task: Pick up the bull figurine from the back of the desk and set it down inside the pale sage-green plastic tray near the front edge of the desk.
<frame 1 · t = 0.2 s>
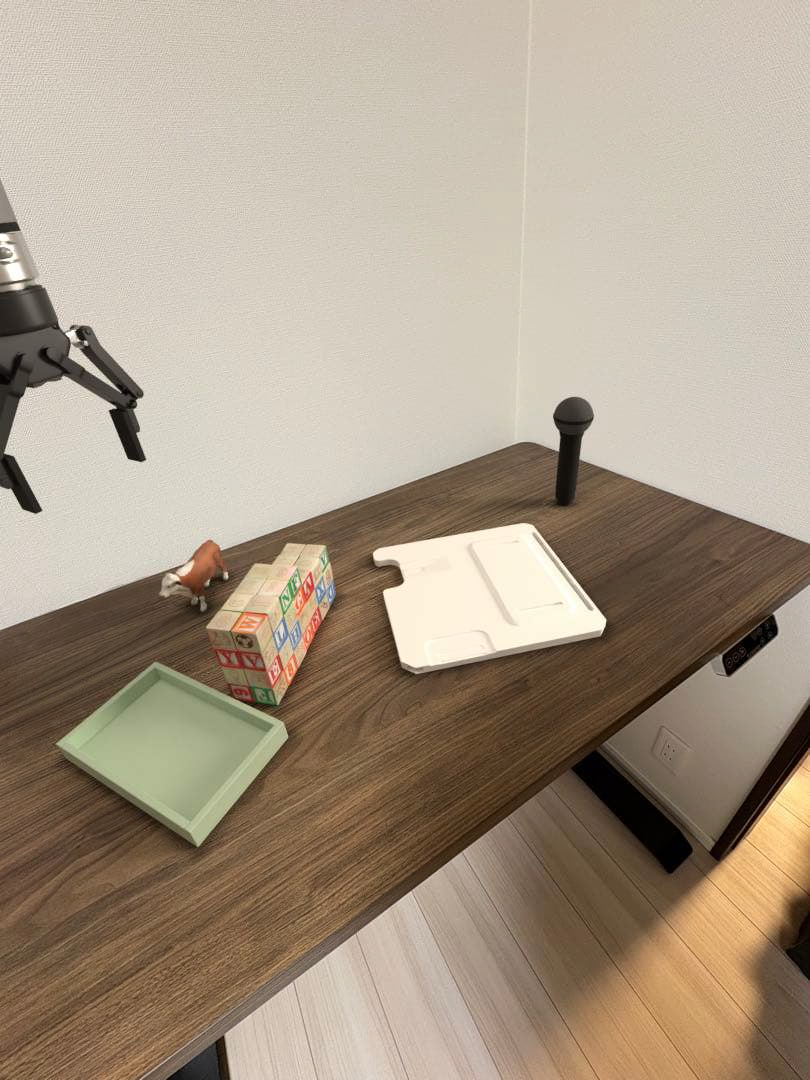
hand: (89, 483, 63), 25 cm above the table, tool pointing down, fingers open, 13 cm apart
tray 2: (476, 589, 80), on the table
bull figurine: (205, 598, 83), on the table
microphone: (564, 503, 99), on the table
tray: (177, 747, 60), on the table
stack of blocks: (290, 643, 73), on the table
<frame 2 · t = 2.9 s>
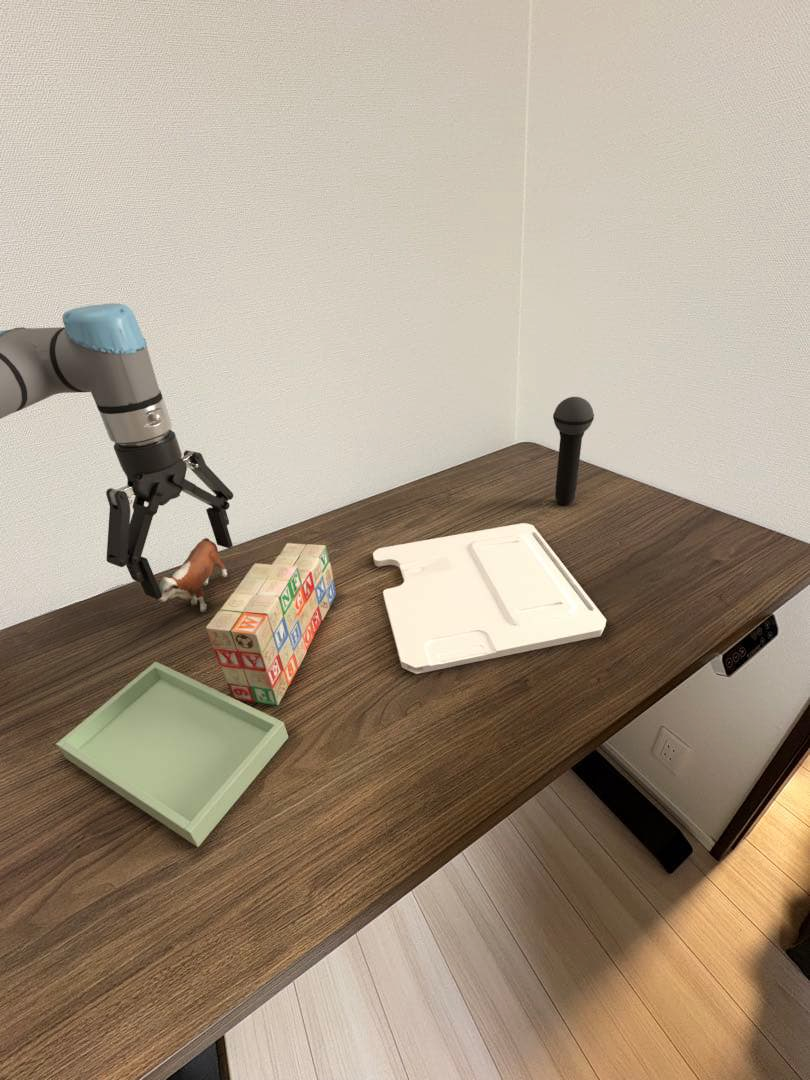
hand: (192, 569, 80), 6 cm above the table, tool pointing down, fingers open, 13 cm apart
bull figurine: (204, 597, 83), on the table, touching gripper
everything else where it was.
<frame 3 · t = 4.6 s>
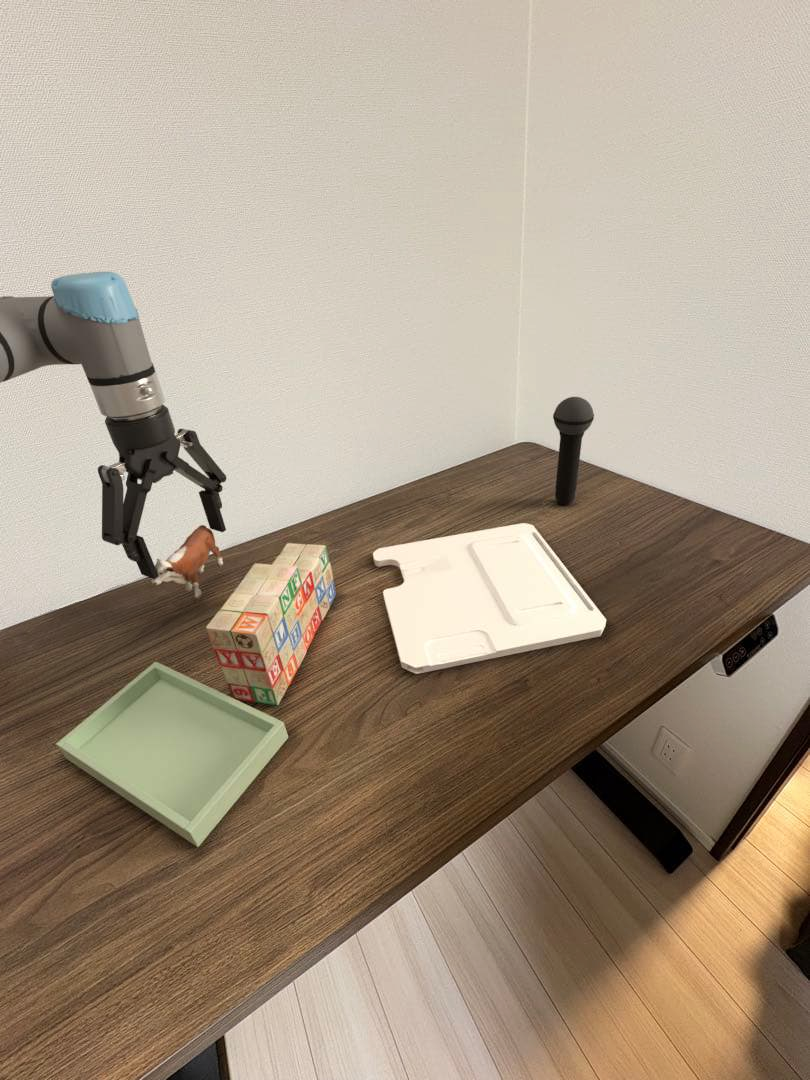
hand: (186, 551, 78), 9 cm above the table, tool pointing down, fingers closed on bull figurine, 12 cm apart
bull figurine: (199, 585, 82), point 2 cm above the table, touching gripper
everything else where it was.
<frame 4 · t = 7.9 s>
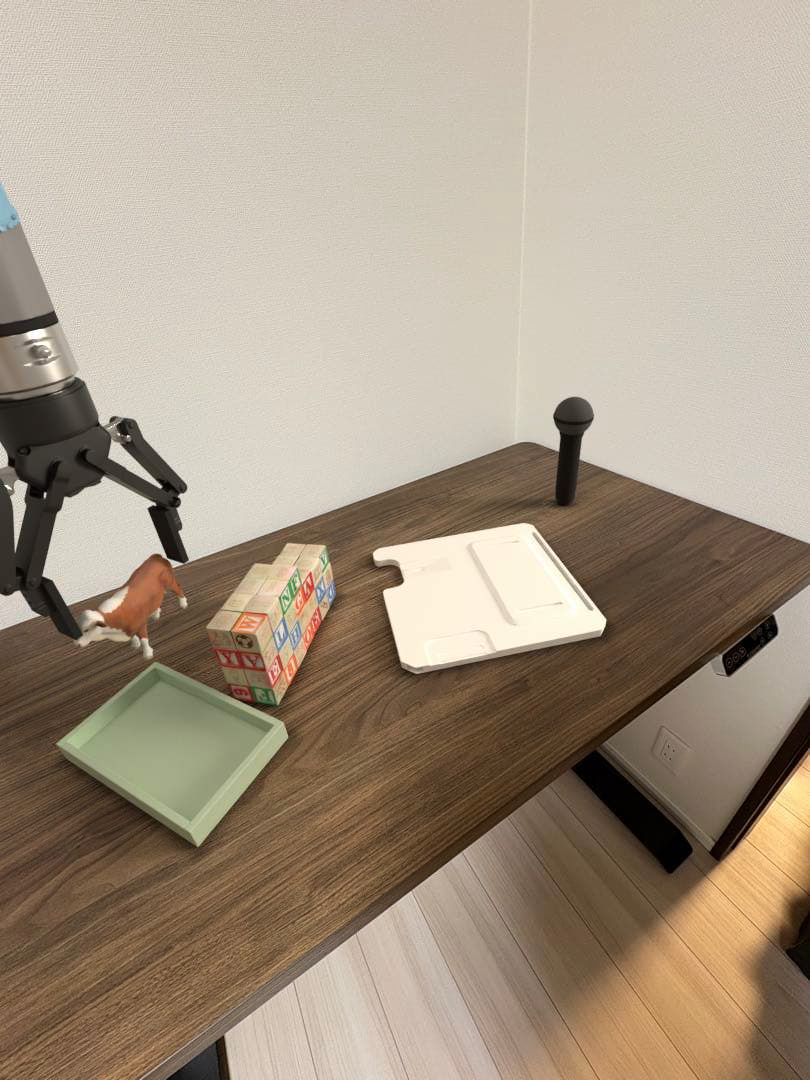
hand: (129, 593, 54), 19 cm above the table, tool pointing down, fingers closed on bull figurine, 12 cm apart
bull figurine: (152, 638, 58), point 12 cm above the table, touching gripper
everything else where it was.
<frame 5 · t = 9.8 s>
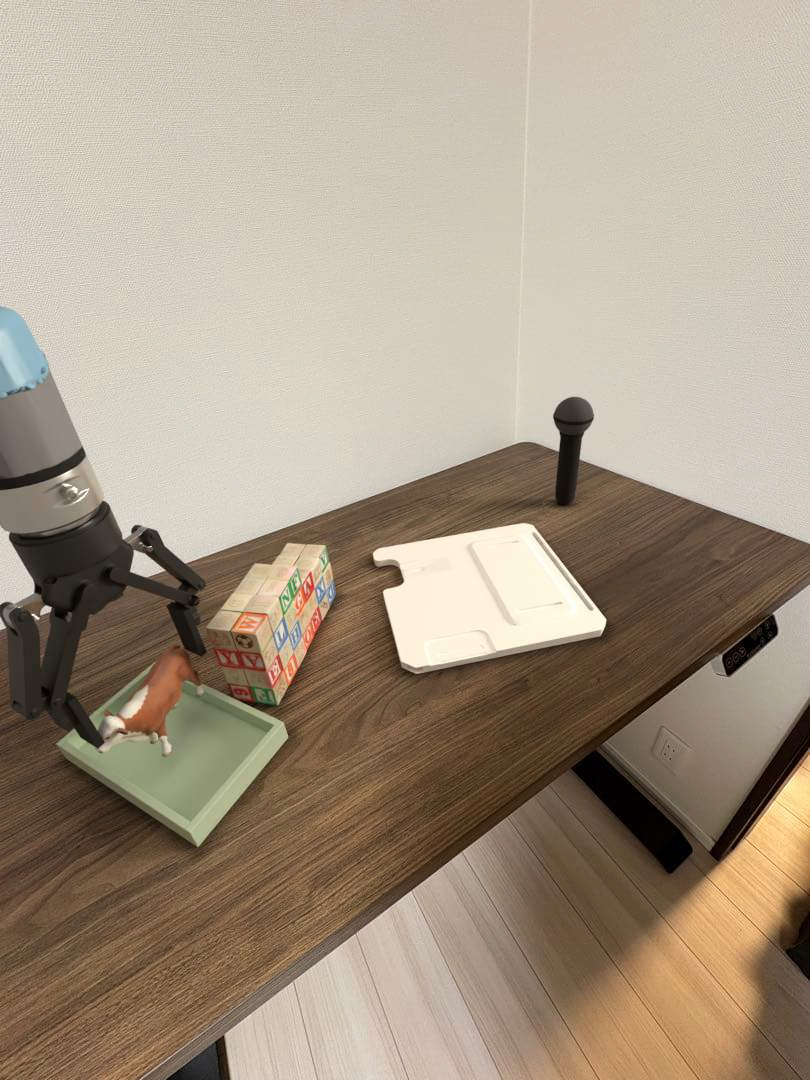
hand: (148, 692, 55), 9 cm above the table, tool pointing down, fingers closed on bull figurine, 12 cm apart
bull figurine: (170, 730, 59), point 3 cm above the table, touching gripper
everything else where it was.
when the fingers open (7 cm above the table, at t = 11.5 s): bull figurine stays where it is, resting on tray.
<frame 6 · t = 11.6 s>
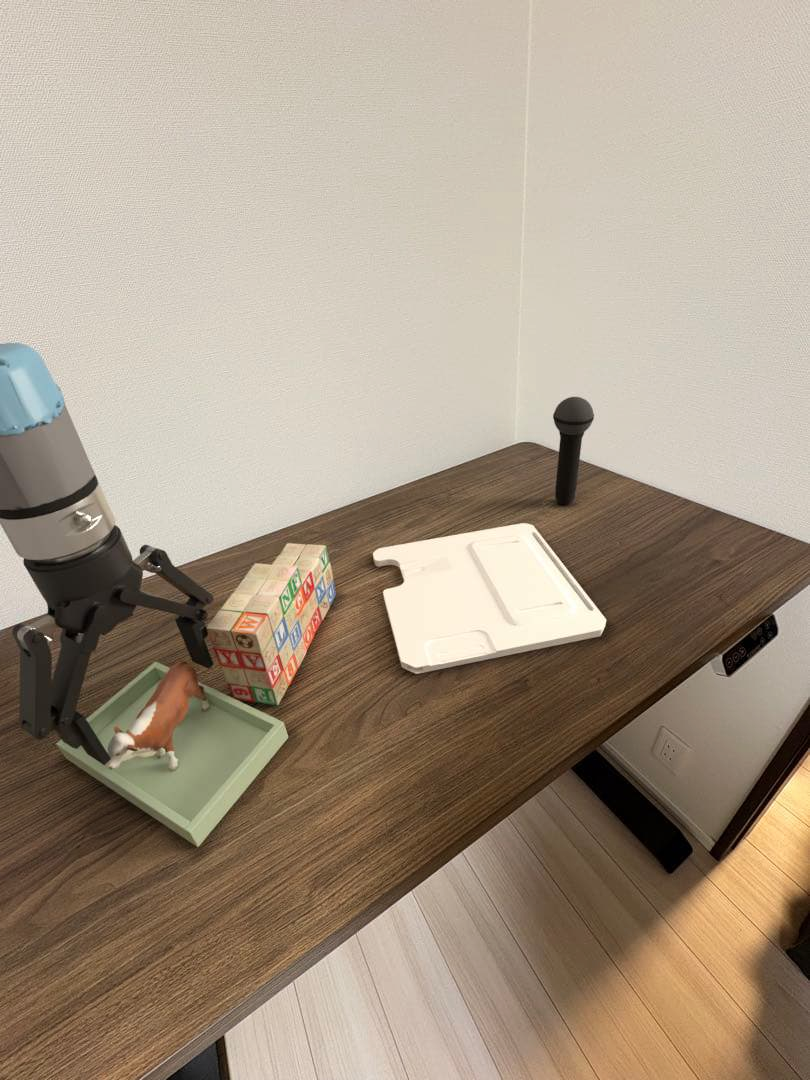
hand: (155, 706, 56), 7 cm above the table, tool pointing down, fingers open, 13 cm apart
bull figurine: (176, 744, 60), resting on tray
everything else where it was.
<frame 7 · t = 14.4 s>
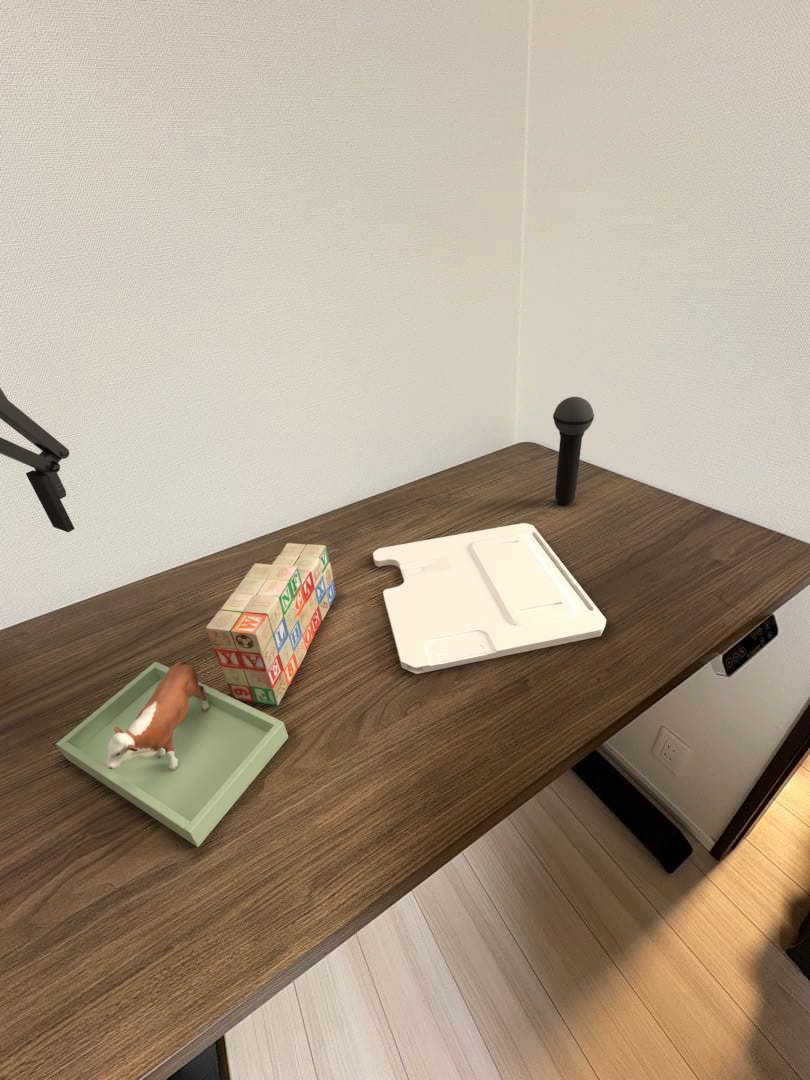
nothing on the table moved.
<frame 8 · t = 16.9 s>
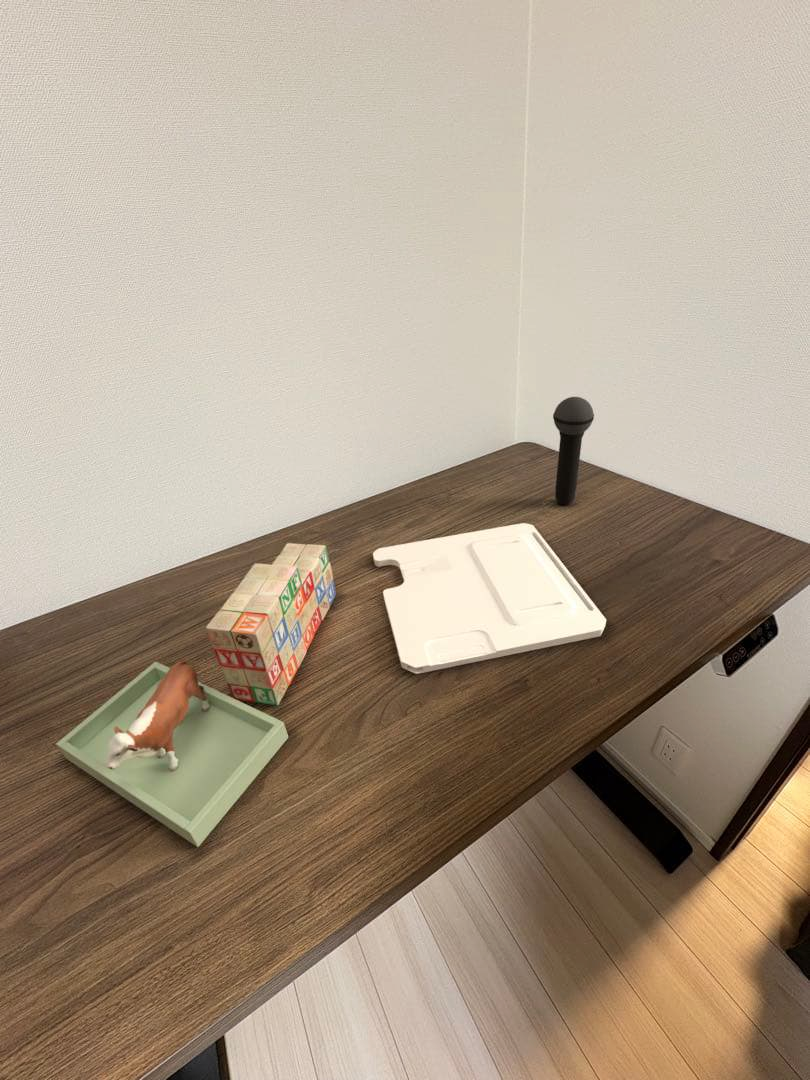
nothing on the table moved.
at the end: bull figurine inside the target area in the tray (0.1 cm from its centre), point 0.4 cm above the tray's base; the gripper is holding nothing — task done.
